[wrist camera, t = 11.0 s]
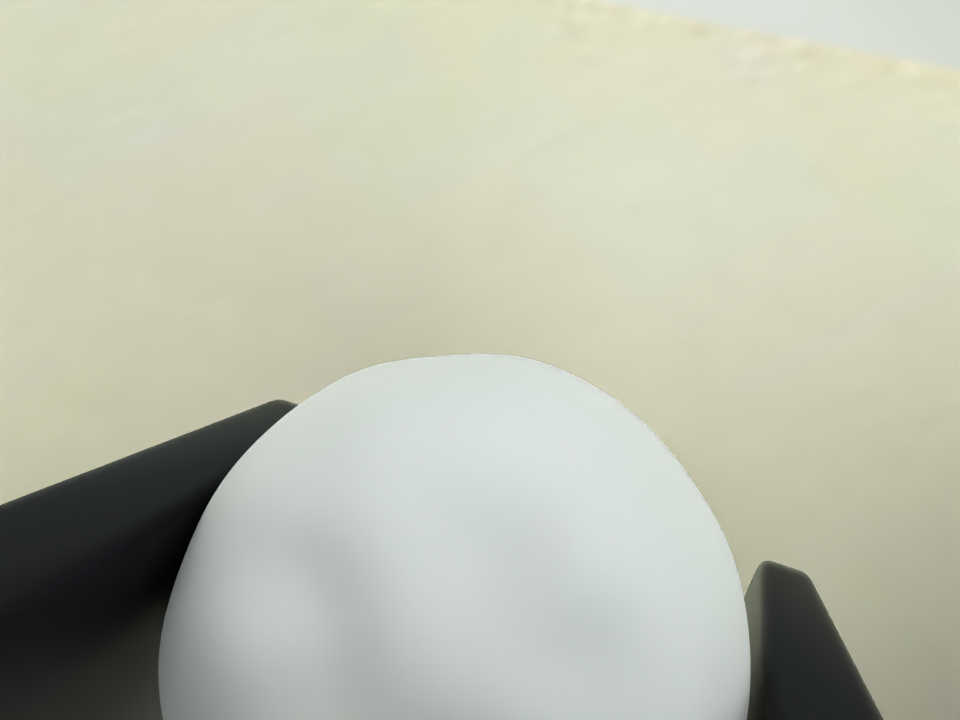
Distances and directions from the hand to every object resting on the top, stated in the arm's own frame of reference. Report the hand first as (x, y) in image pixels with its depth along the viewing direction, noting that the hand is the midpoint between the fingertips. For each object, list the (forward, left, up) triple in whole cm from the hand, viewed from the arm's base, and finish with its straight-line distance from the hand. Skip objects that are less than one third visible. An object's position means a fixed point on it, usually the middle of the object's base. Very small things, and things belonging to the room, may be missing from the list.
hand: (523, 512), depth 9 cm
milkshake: (-1, +1, -6) cm, 7 cm away
